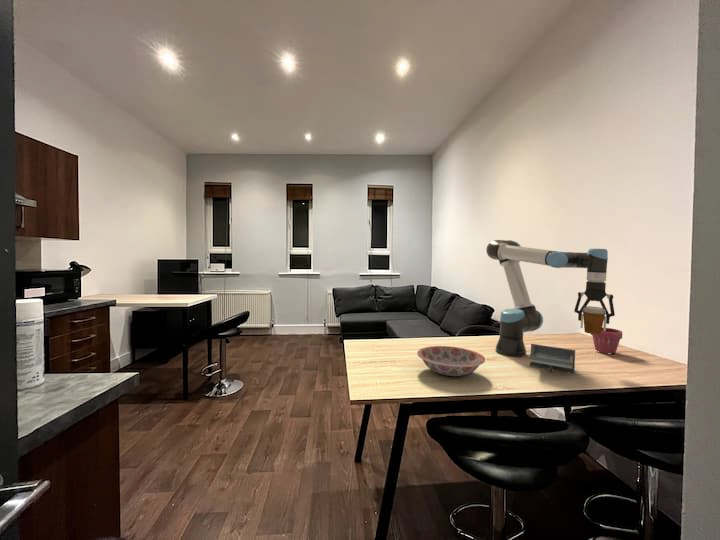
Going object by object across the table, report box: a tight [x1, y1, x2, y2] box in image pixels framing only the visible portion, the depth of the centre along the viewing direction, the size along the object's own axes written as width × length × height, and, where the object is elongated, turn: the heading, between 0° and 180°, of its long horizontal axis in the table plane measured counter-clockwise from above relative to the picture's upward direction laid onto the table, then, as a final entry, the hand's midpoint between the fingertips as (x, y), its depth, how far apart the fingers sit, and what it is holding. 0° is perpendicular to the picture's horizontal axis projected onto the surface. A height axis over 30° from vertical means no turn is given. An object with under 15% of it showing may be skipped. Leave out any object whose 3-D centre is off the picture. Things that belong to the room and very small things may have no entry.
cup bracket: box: [529, 343, 576, 374], centre depth 151 cm, size 18×20×10 cm
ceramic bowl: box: [416, 345, 486, 377], centre depth 148 cm, size 29×29×8 cm
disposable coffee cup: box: [582, 305, 606, 335], centre depth 157 cm, size 10×10×12 cm
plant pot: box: [590, 326, 623, 354], centre depth 185 cm, size 14×14×13 cm
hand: (592, 328), depth 157 cm, fingers closed on disposable coffee cup, 8 cm apart
